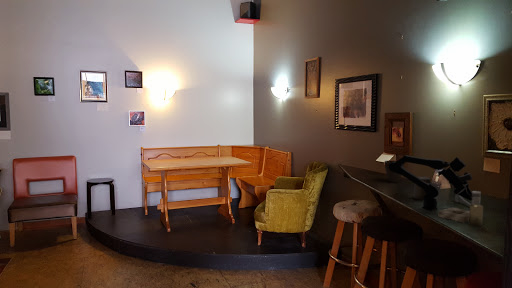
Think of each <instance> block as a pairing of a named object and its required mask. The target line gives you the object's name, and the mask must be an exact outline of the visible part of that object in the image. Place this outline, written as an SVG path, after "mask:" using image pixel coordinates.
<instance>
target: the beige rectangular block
mask: <svg viewBox="0 0 512 288" xmlns="http://www.w3.org/2000/svg"><path fill="white" fill-rule="evenodd" d="M470 204H471V203H470ZM469 211H470V213H469V221H468V225H469V226H471V227H483V220H484V219H483V217H484V216H483V215H484V205H482V204H480V205H477V204H471V205H470V207H469Z"/></svg>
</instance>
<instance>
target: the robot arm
mask: <svg viewBox="0 0 512 288" xmlns="http://www.w3.org/2000/svg"><path fill="white" fill-rule="evenodd" d="M393 161H394V162H392V163H390V164H389V170H390V171H392V172H394V173H397V174H400V175H401V177H404V178H405V179H407V180H408V181H410V182H412V183H413V184H414V185H415V184H416V185H418V186H419V187H421V188H422V189H423V190H424V191H425V192H426V194H425V195H424V200H423V203H422V204H423V205H422V207H421V208H422V209H424V210H427V211H434V210H437V209H438V202H437V196H439V194H440V192H441V190H440V187H438V186H439V185H437V184H435V183H434V182H433V181H431V183H427V182H425V181H423V180H422V179H420V178H419V177H420V176H417V175H416V174H414V173H412V172H411V171H409V170H407V169H406V168H405V166H404V167H403V166H402V165H403V164H404V165H405V164H407V163H411V164H415V165H421V166H426V167H429V168H431V169H433V170H436V171H438V172H437V173H438V174H437V177H440V176H443V177H444V178H445V179H446V181H447V182H448V183H449V184H450V185H452V186H453V193H454V195H459V196H461V197H462V198H464V199H465V200H468V201H471V202H472V191H471V189H470V187H469V186H470V183H469V181H471V180H473V176H472V173H470V172H467V171H466V172H463V175H459V174H456V172H457V173H459V172H460V171H461V170H463V169H464V168H465V167H466V166H467V164H466V163H465V161H463V160H462V159H460V158H459V157H457V156H456V157H455V158H454V159H453V160H452V161H450V162H449V161H444V160H443V159H442V158H424V157H418V156H412V155H408V154H406V155H403V156H402V157H401V158H399V159H397V160H393Z"/></svg>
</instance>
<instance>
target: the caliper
mask: <svg viewBox="0 0 512 288" xmlns="http://www.w3.org/2000/svg"><path fill="white" fill-rule="evenodd" d="M454 195H455V196H454V202H456V203H459V202H460V203H463V204H465V205H466V206H468V207H469V208H470V205H471V203H470V202H468V201H467V199H465V198H464V197H461V196H459V195H456V194H454Z"/></svg>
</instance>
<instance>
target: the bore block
mask: <svg viewBox="0 0 512 288" xmlns="http://www.w3.org/2000/svg"><path fill="white" fill-rule="evenodd" d="M469 213H470V210H466V209H462V208H458V207H449V208H445V209H441V210H438V214H437V215H438V216H437V217H438V218H443V219H448V220H450V219H451V221H454V220H455V221H454V222H458V221H459V223H462V224H465V223H469Z"/></svg>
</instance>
